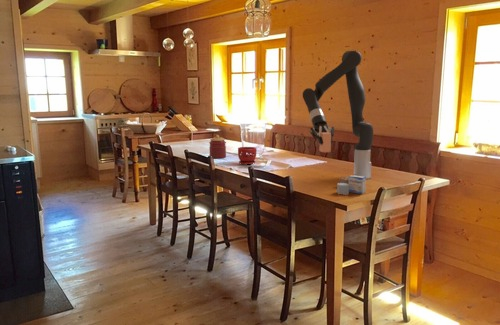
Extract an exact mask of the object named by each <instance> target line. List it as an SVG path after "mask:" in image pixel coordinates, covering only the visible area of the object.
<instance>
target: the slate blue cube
mask: <svg viewBox="0 0 500 325" xmlns="http://www.w3.org/2000/svg"><path fill="white" fill-rule="evenodd" d="M336 184H337V185H336V193H337V194H338V195H339V194H343V195H345V196H346V195H347V196H349V193H350V192H349V185H348V184H347V183H340V182H337V183H336ZM343 195H342V196H343Z"/></svg>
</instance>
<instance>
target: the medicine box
mask: <svg viewBox="0 0 500 325" xmlns="http://www.w3.org/2000/svg"><path fill="white" fill-rule="evenodd" d="M348 177H349V193H350V192H351V193H350V194H359V195H363V194H366V184H367V179H366V177H364V176H356V175H354V174H351V175H349V176H348Z"/></svg>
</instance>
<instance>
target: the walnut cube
mask: <svg viewBox="0 0 500 325" xmlns="http://www.w3.org/2000/svg"><path fill="white" fill-rule="evenodd" d="M339 183H347V184H348V185H349V176H347V177H346V176H344V177H339Z"/></svg>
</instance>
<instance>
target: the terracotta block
mask: <svg viewBox="0 0 500 325" xmlns="http://www.w3.org/2000/svg"><path fill="white" fill-rule="evenodd" d="M320 134H321V137H322V140H323V144H322V145H321V144H320V143H319V147H318V148H319V149H318V150H319V152H321V153H331V152H332V151H331V150H332V144H331V133H327V132H323V133H320Z"/></svg>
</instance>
